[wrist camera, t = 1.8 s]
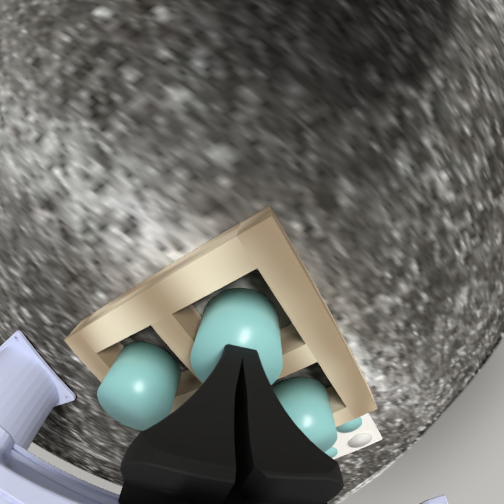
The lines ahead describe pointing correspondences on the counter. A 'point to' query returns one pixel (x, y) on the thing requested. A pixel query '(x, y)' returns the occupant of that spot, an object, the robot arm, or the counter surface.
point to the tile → (354, 436)
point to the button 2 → (140, 386)
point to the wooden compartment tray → (213, 278)
